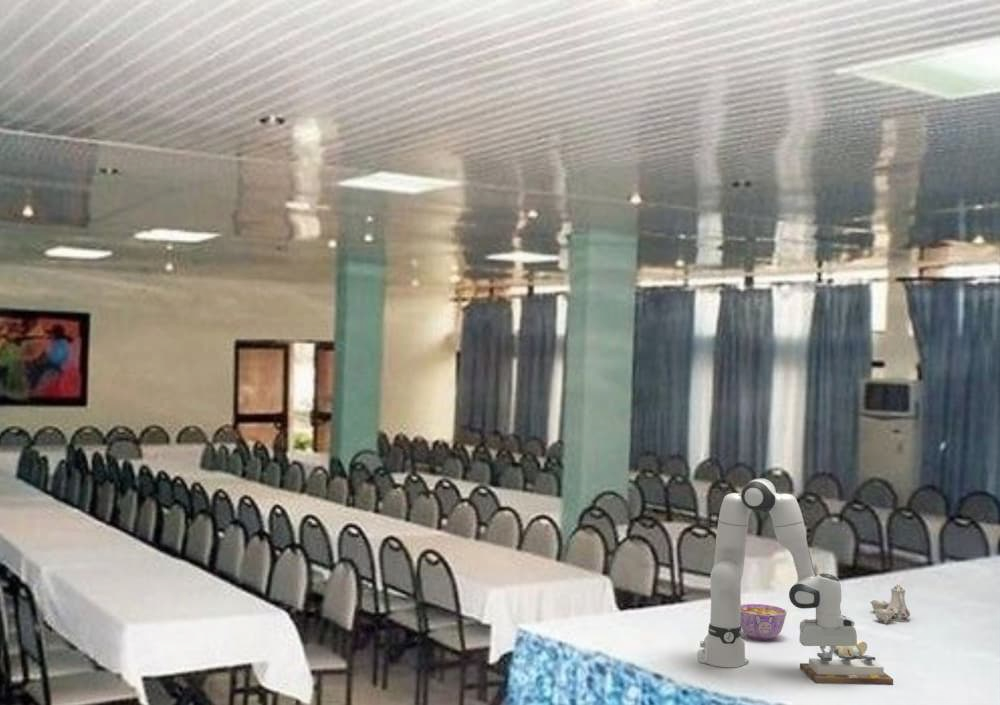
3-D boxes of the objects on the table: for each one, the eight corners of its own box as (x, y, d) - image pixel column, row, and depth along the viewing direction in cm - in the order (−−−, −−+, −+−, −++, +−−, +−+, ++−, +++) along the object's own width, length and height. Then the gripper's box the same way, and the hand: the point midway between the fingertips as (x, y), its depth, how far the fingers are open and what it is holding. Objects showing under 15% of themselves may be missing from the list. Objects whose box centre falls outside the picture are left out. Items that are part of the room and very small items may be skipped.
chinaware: (866, 614, 514) (863, 578, 514) (903, 612, 512) (901, 576, 512) (877, 629, 487) (874, 591, 487) (917, 627, 484) (914, 589, 484)
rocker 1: (817, 655, 410) (817, 652, 410) (825, 655, 410) (825, 652, 410) (823, 660, 403) (823, 657, 403) (831, 660, 403) (831, 657, 403)
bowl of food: (766, 646, 445) (767, 617, 444) (725, 635, 460) (726, 607, 460) (795, 639, 458) (796, 611, 458) (755, 628, 473) (756, 601, 473)
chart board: (799, 668, 415) (799, 662, 415) (873, 669, 416) (873, 664, 416) (815, 683, 397) (816, 677, 397) (893, 684, 398) (893, 678, 398)
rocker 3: (860, 658, 410) (859, 654, 410) (868, 658, 410) (867, 655, 411) (867, 660, 403) (867, 656, 403) (875, 660, 403) (875, 657, 404)
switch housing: (808, 666, 411) (809, 655, 411) (872, 667, 412) (873, 656, 412) (817, 674, 401) (818, 663, 401) (883, 675, 402) (883, 664, 402)
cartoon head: (860, 669, 426) (824, 653, 445) (877, 654, 430) (841, 639, 448) (852, 651, 424) (816, 635, 442) (869, 636, 427) (833, 622, 446)
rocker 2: (838, 657, 410) (838, 654, 410) (846, 657, 410) (846, 654, 410) (845, 659, 403) (845, 656, 403) (853, 659, 403) (853, 656, 403)
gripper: (802, 621, 400) (802, 660, 400) (858, 621, 401) (858, 660, 401) (797, 617, 406) (796, 655, 406) (852, 617, 407) (852, 655, 407)
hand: (827, 657), depth 404 cm, fingers closed, pressing on rocker 1
